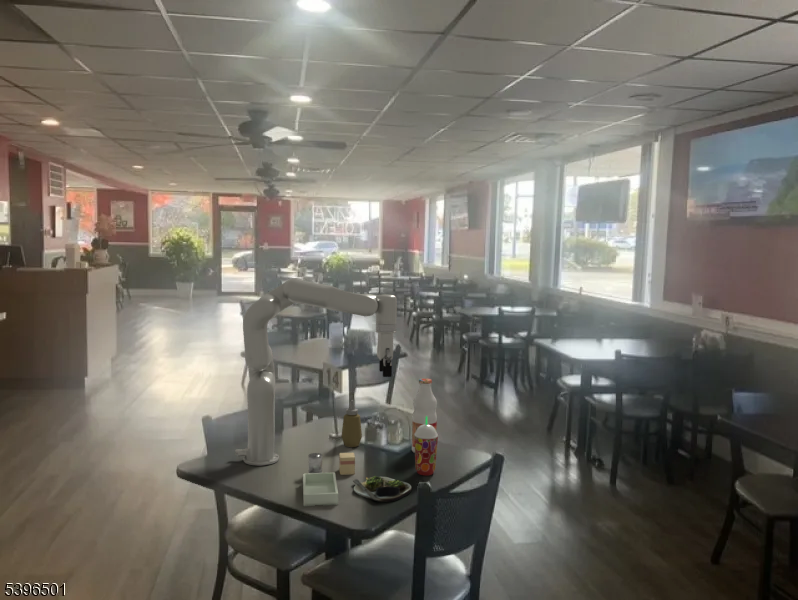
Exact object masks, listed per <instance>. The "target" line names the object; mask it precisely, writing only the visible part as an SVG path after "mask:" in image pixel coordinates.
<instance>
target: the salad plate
mask: <svg viewBox="0 0 798 600" xmlns="http://www.w3.org/2000/svg"><path fill="white" fill-rule="evenodd" d="M352 482H353V483H354V485H355V486H354V487H353V492H354V493H356V494H357V495H359V496H360V497H363V498H366V499H369V500H372V501H375V502H378V503H389V502H390V503H391V502H394V501H398V500H400V499H402V498H405V497H406V496H408V495H409V494H410V493H411V492H412V489H413V488H412V485H411V484H410V483H408V482H405V481H401V479H400V480H399V479H394V478H391V477H387V476H376V475H374V476H372V477H367V476H366V477H365V481H363V482H361V481H360V480H359V479H357V478H355V479H352Z"/></svg>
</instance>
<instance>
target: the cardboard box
mask: <svg viewBox="0 0 798 600" xmlns="http://www.w3.org/2000/svg"><path fill="white" fill-rule="evenodd" d="M338 454H339V455H338V456H339V457H338V458H339V461H338V462H339V467H338V468H339V469H338V470H339V475H344V476H345V475H346V476H347V475H355V474H356V473H355V471H356V455H355V452H339V453H338Z"/></svg>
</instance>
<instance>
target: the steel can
mask: <svg viewBox="0 0 798 600" xmlns="http://www.w3.org/2000/svg"><path fill="white" fill-rule="evenodd" d="M308 473H323V454H322V453H321V452H313V453H312V452H311V453H310V454H308Z"/></svg>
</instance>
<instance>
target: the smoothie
mask: <svg viewBox="0 0 798 600" xmlns="http://www.w3.org/2000/svg"><path fill="white" fill-rule="evenodd" d="M414 441H415V453H414V460H415V462H414V463H415V470H416V473H417V474H418V475H420V476H423V477H424V476H431V475H433V474H434V472H435V471H436V465H437V451H438V441H439V434H438V433H437V432H436V430H435V428H434V427H433V426H431V425H429V424H427V416H426V424H423V425H421V426H419V427H418V429H417V430H416V432H415V433H414Z"/></svg>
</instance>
